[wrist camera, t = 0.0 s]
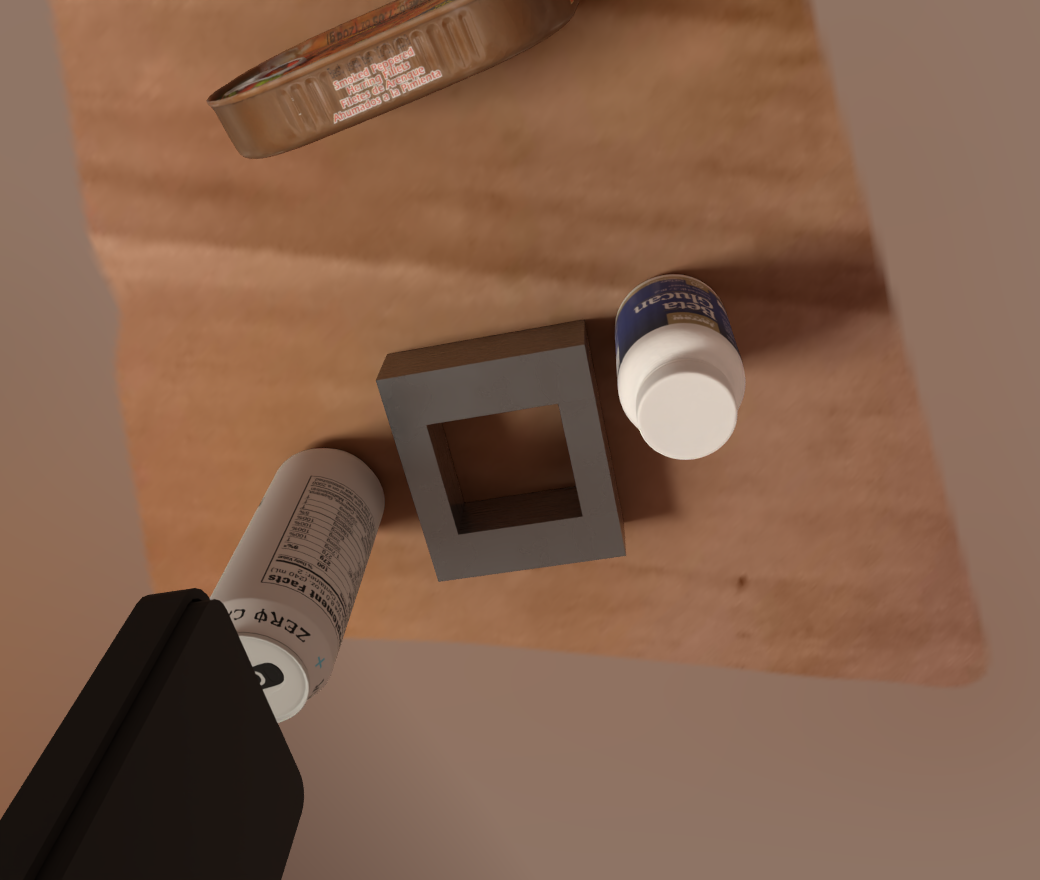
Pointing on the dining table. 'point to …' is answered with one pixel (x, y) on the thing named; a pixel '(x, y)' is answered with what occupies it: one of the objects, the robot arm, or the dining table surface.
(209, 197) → the dining table surface
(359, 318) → the dining table surface
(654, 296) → the pill bottle
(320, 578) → the energy drink can
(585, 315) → the dining table surface
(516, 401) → the socket block
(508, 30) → the tin
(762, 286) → the dining table surface
